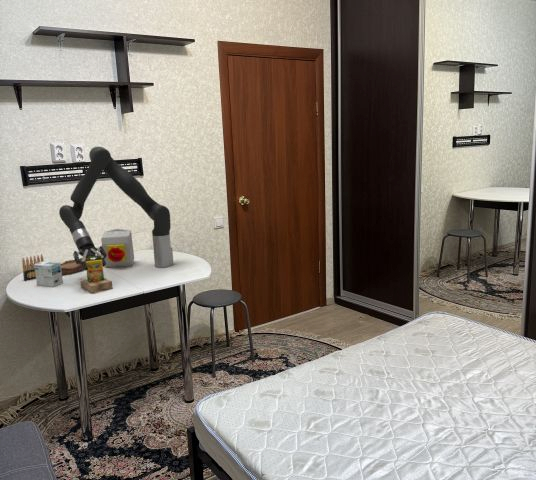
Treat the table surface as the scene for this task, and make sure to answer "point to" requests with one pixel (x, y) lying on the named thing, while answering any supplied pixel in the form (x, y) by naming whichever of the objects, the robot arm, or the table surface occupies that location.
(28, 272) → the ammunition clip
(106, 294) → the table surface
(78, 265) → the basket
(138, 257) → the table surface
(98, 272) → the crayon box
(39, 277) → the light bulb box
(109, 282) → the tray
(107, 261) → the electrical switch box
